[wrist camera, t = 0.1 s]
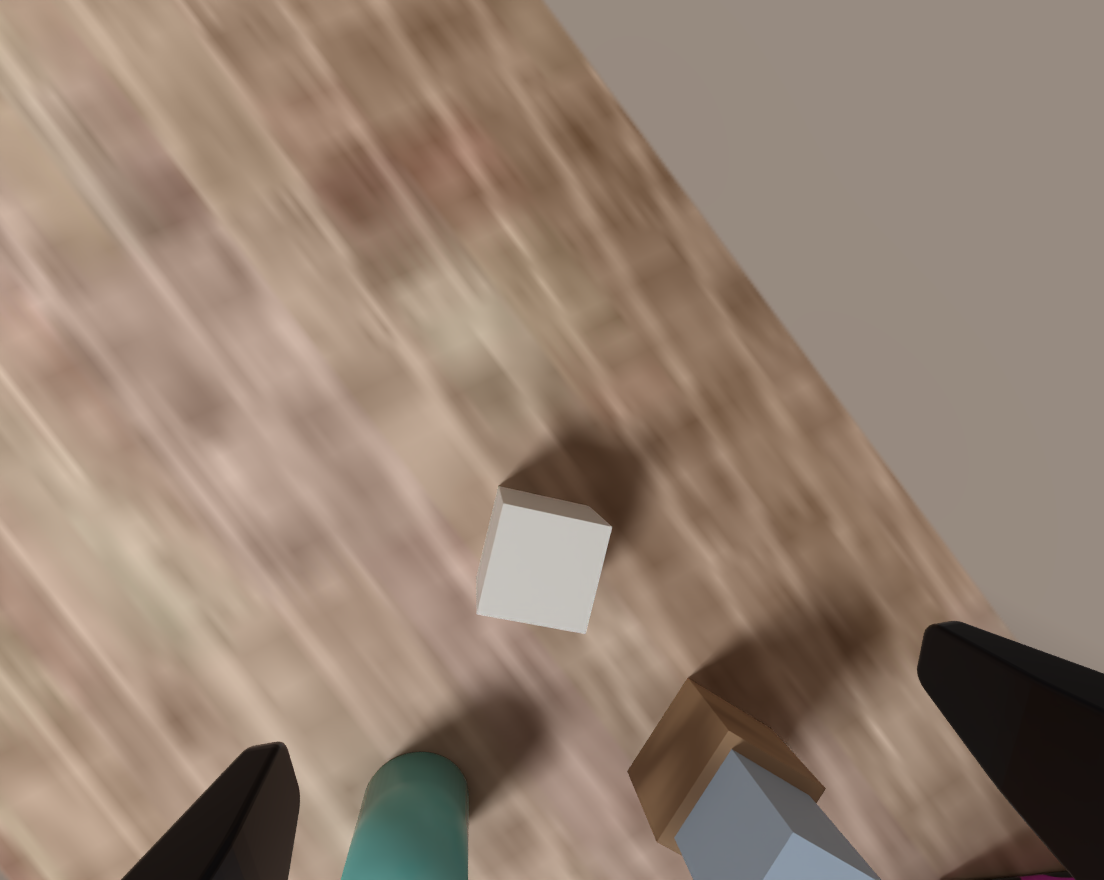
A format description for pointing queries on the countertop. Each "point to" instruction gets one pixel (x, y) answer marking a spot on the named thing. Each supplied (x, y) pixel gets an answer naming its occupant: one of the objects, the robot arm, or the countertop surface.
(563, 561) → the cube
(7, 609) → the countertop surface
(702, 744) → the tower base
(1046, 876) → the candy bar box
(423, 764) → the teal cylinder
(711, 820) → the tower top
